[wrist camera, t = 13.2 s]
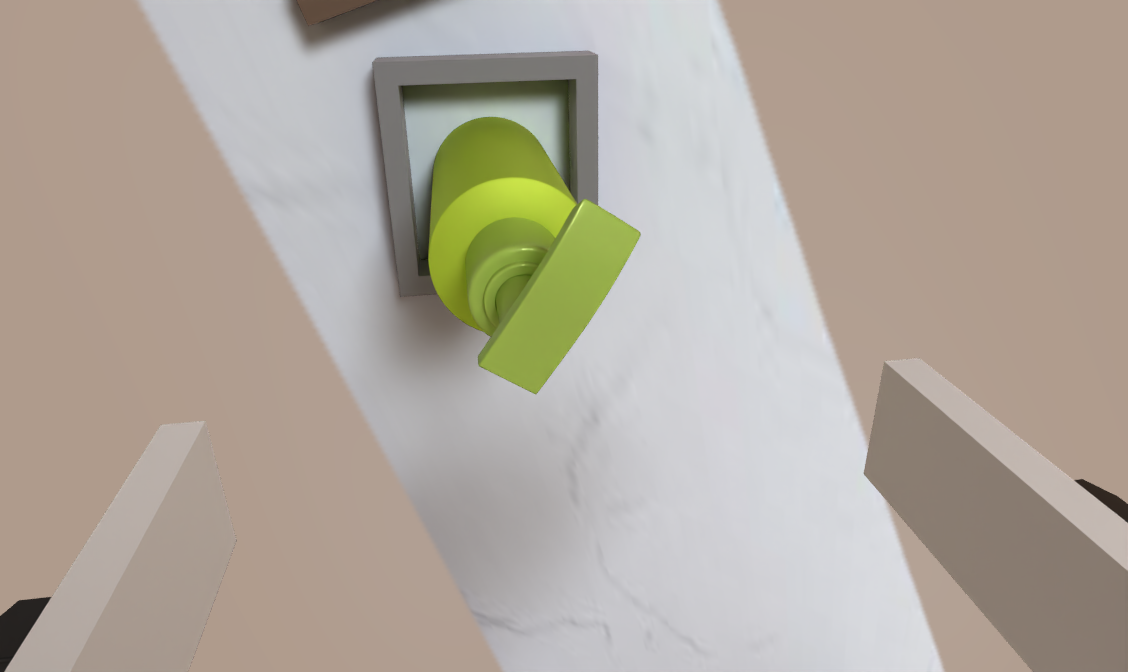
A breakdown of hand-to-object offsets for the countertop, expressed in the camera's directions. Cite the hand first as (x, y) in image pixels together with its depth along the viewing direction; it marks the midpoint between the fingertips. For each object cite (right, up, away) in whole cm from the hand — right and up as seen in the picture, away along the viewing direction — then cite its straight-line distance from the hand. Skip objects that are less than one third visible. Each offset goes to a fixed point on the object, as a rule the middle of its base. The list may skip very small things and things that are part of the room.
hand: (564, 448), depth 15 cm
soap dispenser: (-3, +11, +23) cm, 26 cm away
